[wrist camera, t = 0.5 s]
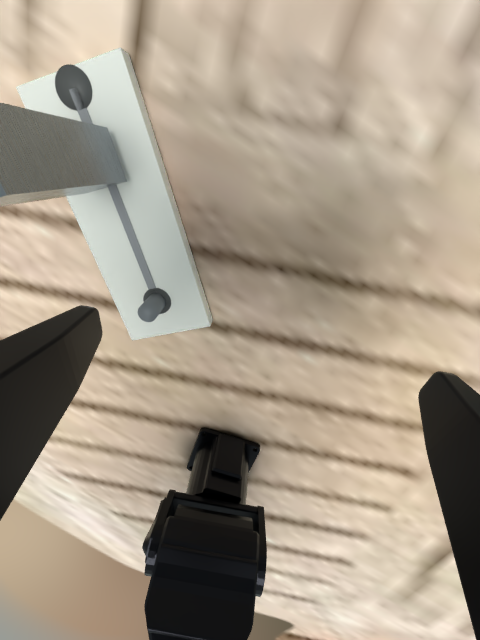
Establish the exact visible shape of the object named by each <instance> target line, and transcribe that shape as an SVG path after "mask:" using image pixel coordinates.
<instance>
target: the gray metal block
mask: <svg viewBox="0 0 480 640" xmlns="http://www.w3.org/2000/svg"><path fill="white" fill-rule="evenodd" d="M124 182H127V179H126V177H125V174H124V171H123V169H122V166H121V163H120V160H119V158H118V155H117V152H116V150H115V147H114V144H113V142H112V139H111V136H110V133H109V131H108V128H107V127H103V126H99V125H94V124H90V123H86V122H81V121H77V120H73V119H68V118H64V117H60V116H56V115H51V114H47V113H43V112H38V111H34V110H30V109H25V108H21V107H17V106H12V105H8V104H4V103H0V206H7V205H13V204H20V203H26V202H33V201H39V200H46V199H52V198H59V197H65V196H72V195H78V194H85V193H89V192H92V191H96V190H99V189H103V188H106V187H110V186H113V185H117V184H120V183H124Z"/></svg>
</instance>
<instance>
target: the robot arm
mask: <svg viewBox="0 0 480 640" xmlns="http://www.w3.org/2000/svg"><path fill="white" fill-rule="evenodd" d="M101 338H102V327H101V322H100V316H99V312H98V310H97V309H96V308H94V307H89V306H82V305H81V306H77V307H75V308H73V309H71V310H68V311H66V312H64V313H62V314H59V315H57V316H55V317H53V318H50V319H48V320H46V321H44V322H41V323H39V324H37V325H34V326H32V327H30V328H28V329H25V330H23V331H21V332H19V333H16V334H14V335H12V336H10V337H7V338H5V339H3V340H0V520H1V518H2V517H3V515H4V513H5V512H6V510H7V508H8V507H9V505H10V503H11V502H12V500H13V498H14V497H15V495H16V493H17V492H18V490H19V488H20V487H21V485H22V483H23V482H24V480H25V478H26V477H27V475H28V473H29V472H30V470H31V468H32V467H33V465H34V463H35V462H36V460H37V458H38V457H39V455H40V453H41V452H42V450H43V448H44V446H45V445H46V443H47V441H48V440H49V438H50V436H51V435H52V433H53V431H54V430H55V428H56V426H57V425H58V423H59V421H60V420H61V418H62V416H63V415H64V413H65V411H66V410H67V408H68V406H69V405H70V403H71V401H72V400H73V398H74V396H75V394H76V393H77V391H78V389H79V387H80V385H81V383H82V381H83V379H84V377H85V374H86V372H87V370H88V368H89V365H90V363H91V361H92V359H93V357H94V354H95V352H96V350H97V348H98V345H99V343H100V341H101ZM418 398H419V406H420V412H421V419H422V425H423V432H424V439H425V445H426V450H427V455H428V459H429V463H430V467H431V471H432V475H433V478H434V482H435V486H436V490H437V493H438V497H439V501H440V505H441V509H442V512H443V516H444V520H445V524H446V527H447V531H448V535H449V539H450V542H451V546H452V550H453V554H454V558H455V561H456V565H457V569H458V573H459V576H460V580H461V584H462V588H463V591H464V595H465V599H466V603H467V607H468V610H469V614H470V618H471V622H472V625H473V629H474V633H475V637H476V640H480V395H479V394H478V393H477V392H476V391H475V390H473V389H472V388H471V387H470V386H469V385H467V384H466V383H465V382H464V381H462V380H461V379H460V378H459V377H458V376H456V375H454V374H452V373H447V372H441V371H438V372H435V373H434V374H433V375H432V376H431V377H430V379H429V380H428V381H427V382H426V384H425V385H424V386H423V387H422V388H421V390H420V392H419V397H418ZM255 448H256V449H255ZM259 452H260V446H259V445H258V444H256V443H253V442H250V441H246V440H243V439H240V438H236V437H233V436H230V435H227V434H223V433H220V432H217V431H213V430H210V429H207V428H202V429H201V430H200V432H199V435H198V438H197V440H196V443H195V446H194V448H193V451H192V454H191V456H190V459H189V462H188V465H187V469H188V470H190V471H192V472H191V476H190V480H189V484H188V488H187V492H186V493H180V492H176V490H169V493H168V495H167V498H166V497H165V499H164V500H162V501H161V503H160V506H159V509H158V512H157V515H156V518H155V520H154V522H153V524H152V526H151V528H150V530H149V532H148V534H147V536H146V538H145V540H144V543H143V551H144V553H145V555H146V559H145V563H146V566H145V575H146V576H151V580H150V584H149V588H148V592H147V596H146V600H145V614H146V622H147V629H148V634H149V640H247V639H248V636H249V634H250V632H251V630H252V625H253V616H254V607H255V596H259V597H260V596H261V595H262V591H263V587H264V581H265V573H266V558H267V548H266V533H265V519H264V507H262V506H257V507H256V506H250V505H246V495H247V480H248V472H249V471H250V469H251V467H252V465H253V463H254V461H255V459H256V457H257V455H258V454H259Z"/></svg>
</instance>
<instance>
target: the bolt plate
mask: <svg viewBox="0 0 480 640" xmlns="http://www.w3.org/2000/svg"><path fill="white" fill-rule="evenodd" d="M16 88H17V90H18V93H19V95H20V97H21V99H22V101H23V104H24V106H25V108H26V109H30V110H34V111H38V112H43V113H47V114H51V115H56V116H60V117H64V118H68V119H73V120H77V121H81V122H86V123H90V124H94V125H99V126H103V127H107V128H108V131H109V133H110V136H111V139H112V142H113V144H114V147H115V150H116V152H117V155H118V158H119V160H120V163H121V166H122V169H123V171H124V174H125V177H126V179H127V182H124V183H120V184H117V185H113V186H110V187H106V188H103V189H99V190H96V191H92V192H89V193H85V194H78V195H72V196H66V197H67V200H68V202H69V204H70V206H71V208H72V210H73V213H74V215H75V217H76V219H77V221H78V224H79V226H80V228H81V230H82V232H83V234H84V237H85V239H86V241H87V243H88V245H89V248H90V250H91V252H92V254H93V256H94V258H95V261H96V263H97V265H98V267H99V269H100V272H101V274H102V276H103V278H104V280H105V282H106V285H107V287H108V289H109V291H110V293H111V296H112V298H113V300H114V302H115V304H116V306H117V309H118V311H119V313H120V315H121V317H122V320H123V322H124V324H125V326H126V328H127V330H128V333H129V335H130V337H131V339H132V340H138V339H143V338H149V337H154V336H160V335H165V334H171V333H176V332H182V331H187V330H193V329H198V328H204V327H209V326H211V323H212V320H213V319H212V315H211V312H210V309H209V306H208V303H207V300H206V296H205V293H204V290H203V287H202V284H201V281H200V278H199V274H198V271H197V268H196V265H195V262H194V259H193V255H192V252H191V249H190V246H189V243H188V240H187V236H186V233H185V230H184V227H183V224H182V221H181V217H180V214H179V211H178V208H177V205H176V202H175V198H174V195H173V192H172V189H171V186H170V183H169V179H168V176H167V173H166V170H165V167H164V164H163V160H162V157H161V154H160V151H159V148H158V145H157V141H156V138H155V135H154V132H153V129H152V126H151V122H150V119H149V116H148V113H147V110H146V107H145V103H144V100H143V97H142V94H141V91H140V88H139V84H138V81H137V78H136V75H135V72H134V69H133V66H132V62H131V59H130V56H129V54H128V53H127V52H125V51H124V50H123V49H122V48H118V49H115V50H112V51H110V52H107V53H104V54H102V55H99V56H96V57H94V58H91V59H89V60H86V61H83V62H81V63H78V64H75V65H64V66H62V67H61V68H60V69H59V70H58V71H57V72H54V73H52V74H49V75H46V76H44V77H41V78H38V79H36V80H33V81H30V82H28V83H25V84H23V85H20V86H17V87H16Z"/></svg>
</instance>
